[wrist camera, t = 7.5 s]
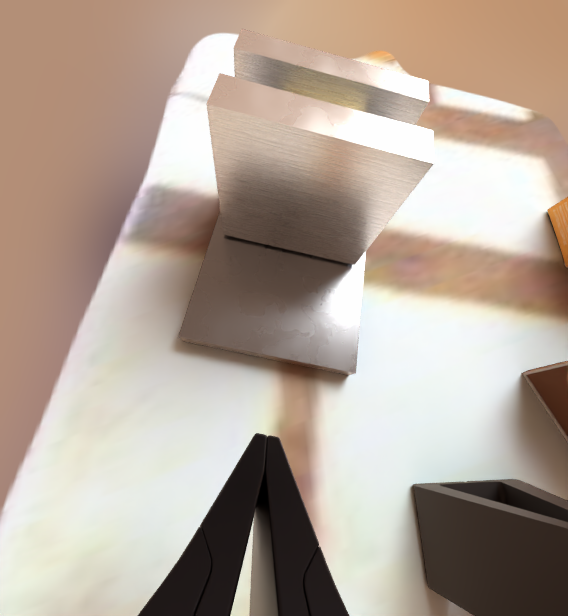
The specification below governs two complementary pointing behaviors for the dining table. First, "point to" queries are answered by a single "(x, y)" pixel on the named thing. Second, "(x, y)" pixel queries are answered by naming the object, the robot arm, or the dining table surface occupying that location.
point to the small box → (561, 226)
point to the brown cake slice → (552, 392)
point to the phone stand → (495, 546)
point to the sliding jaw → (309, 169)
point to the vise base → (282, 262)
